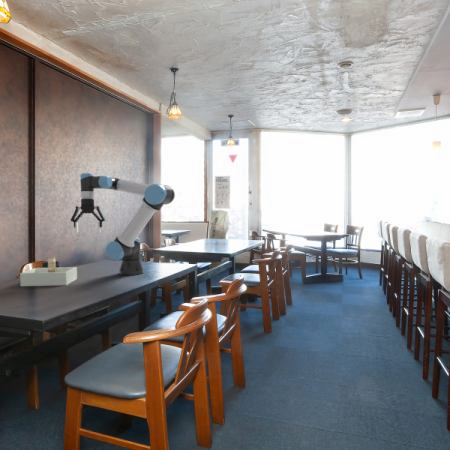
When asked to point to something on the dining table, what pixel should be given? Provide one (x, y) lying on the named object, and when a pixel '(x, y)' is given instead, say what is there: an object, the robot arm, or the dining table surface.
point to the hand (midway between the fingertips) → (88, 232)
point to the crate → (48, 276)
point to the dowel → (51, 264)
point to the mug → (45, 265)
